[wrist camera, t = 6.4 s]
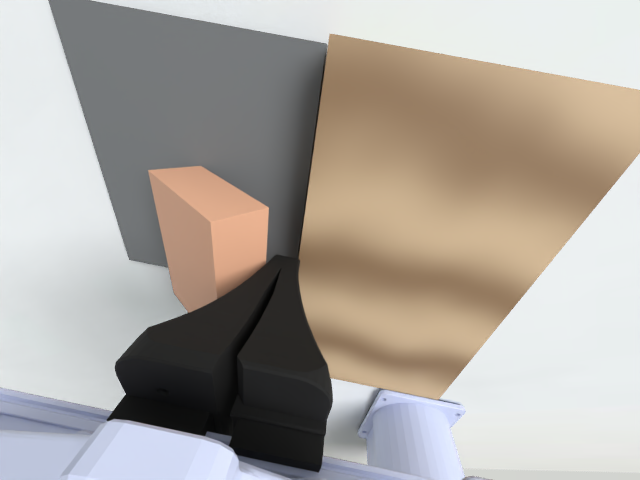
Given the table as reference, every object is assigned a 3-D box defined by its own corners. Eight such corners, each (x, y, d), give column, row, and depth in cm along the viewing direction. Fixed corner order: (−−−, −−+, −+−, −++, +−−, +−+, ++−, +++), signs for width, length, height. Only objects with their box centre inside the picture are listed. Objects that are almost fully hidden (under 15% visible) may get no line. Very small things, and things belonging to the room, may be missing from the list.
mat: (294, 287, 18) (292, 292, 17) (134, 255, 18) (129, 259, 17) (327, 46, 10) (326, 43, 10) (58, -4, 11) (45, -8, 10)
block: (262, 331, 14) (222, 358, 12) (211, 277, 17) (174, 292, 16) (268, 207, 10) (210, 222, 8) (200, 165, 13) (147, 170, 11)
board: (428, 368, 20) (438, 399, 18) (290, 340, 21) (283, 368, 18) (613, 98, 10) (684, 98, 8) (334, 47, 10) (329, 33, 8)
